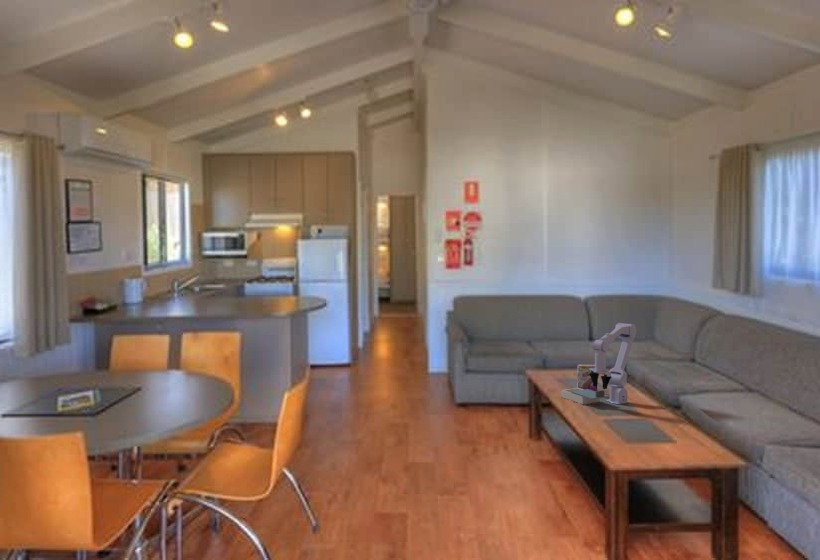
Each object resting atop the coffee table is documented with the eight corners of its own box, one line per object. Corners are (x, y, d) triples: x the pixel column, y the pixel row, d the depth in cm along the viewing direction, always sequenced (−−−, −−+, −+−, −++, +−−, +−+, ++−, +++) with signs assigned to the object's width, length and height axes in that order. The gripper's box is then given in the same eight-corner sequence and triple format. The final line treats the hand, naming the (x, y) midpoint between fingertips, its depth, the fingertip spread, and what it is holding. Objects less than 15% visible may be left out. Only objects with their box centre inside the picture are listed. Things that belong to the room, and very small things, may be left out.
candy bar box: (578, 393, 398) (578, 365, 397) (576, 391, 403) (577, 364, 402) (597, 394, 397) (598, 366, 396) (596, 392, 402) (596, 364, 401)
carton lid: (609, 396, 370) (609, 390, 370) (592, 399, 365) (592, 392, 365) (587, 390, 386) (587, 383, 386) (570, 392, 381) (570, 386, 381)
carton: (599, 402, 378) (599, 394, 377) (582, 404, 372) (582, 396, 372) (578, 395, 394) (578, 387, 393) (561, 397, 389) (561, 390, 388)
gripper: (585, 360, 372) (585, 385, 373) (603, 365, 359) (603, 390, 360) (595, 359, 375) (595, 384, 376) (614, 364, 362) (613, 389, 363)
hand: (600, 387), depth 368 cm, fingers open, 7 cm apart
